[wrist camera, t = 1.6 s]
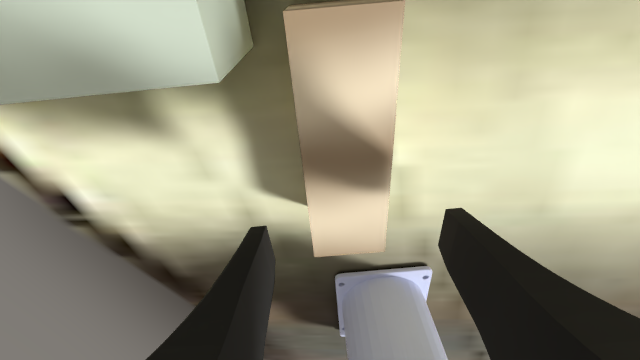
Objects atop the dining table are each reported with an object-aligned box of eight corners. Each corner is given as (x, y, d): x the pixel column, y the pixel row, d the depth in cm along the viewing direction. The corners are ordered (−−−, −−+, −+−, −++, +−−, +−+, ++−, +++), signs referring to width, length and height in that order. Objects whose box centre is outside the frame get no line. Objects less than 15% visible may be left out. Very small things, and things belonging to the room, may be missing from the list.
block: (253, 46, 14) (219, 82, 8) (87, 63, 14) (-51, 109, 8) (228, -78, 11) (156, -140, 6) (24, -56, 11) (-227, -96, 6)
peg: (369, 200, 20) (384, 251, 16) (313, 205, 20) (314, 257, 16) (376, -3, 13) (405, 0, 9) (290, 4, 13) (283, 11, 9)
